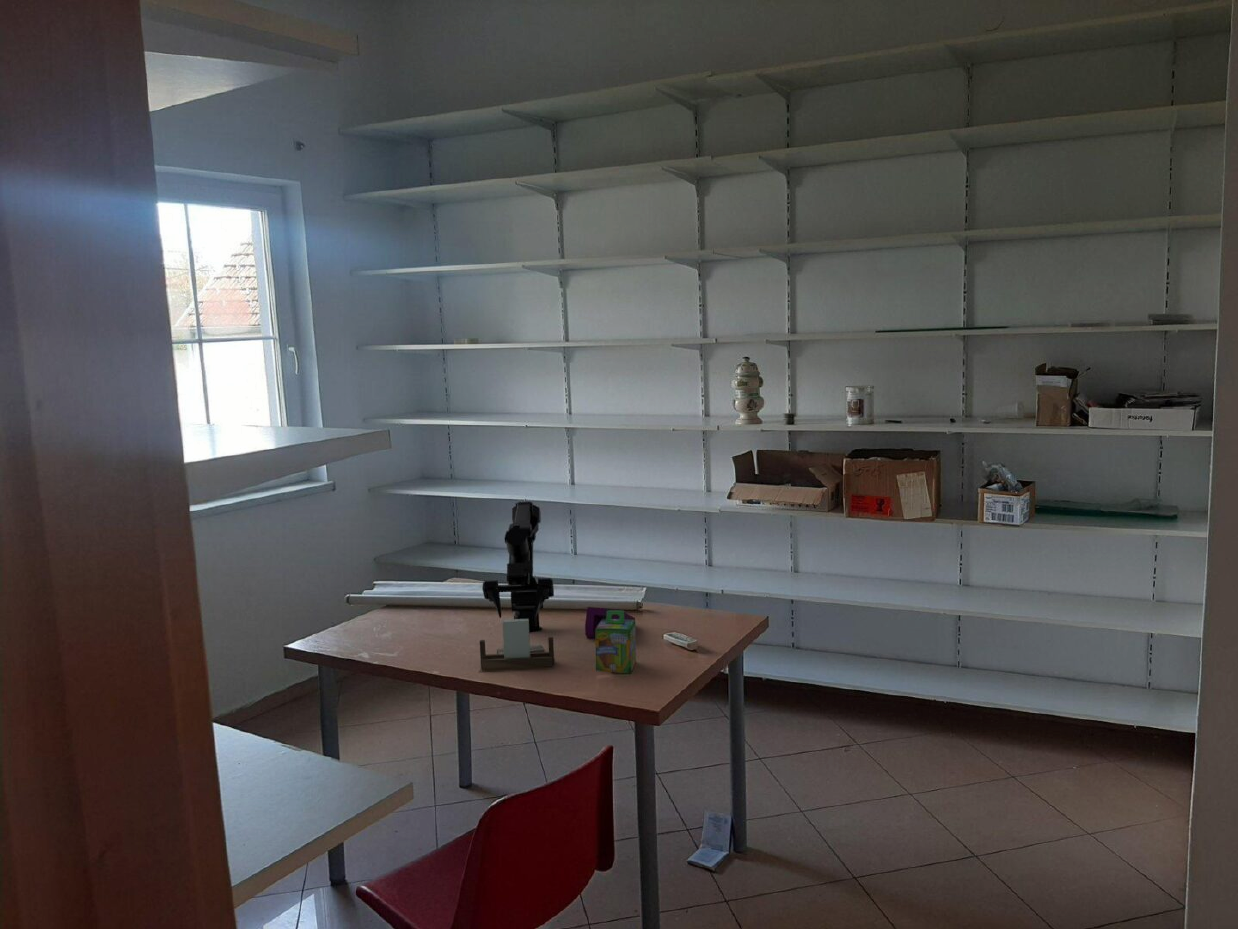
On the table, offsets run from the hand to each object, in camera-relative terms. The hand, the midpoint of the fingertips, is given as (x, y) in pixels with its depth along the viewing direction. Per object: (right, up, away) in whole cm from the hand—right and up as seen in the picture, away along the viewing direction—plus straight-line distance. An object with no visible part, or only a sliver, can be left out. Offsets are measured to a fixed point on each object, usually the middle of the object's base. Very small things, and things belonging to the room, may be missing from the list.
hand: (517, 616), depth 242 cm
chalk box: (+26, -12, -6) cm, 29 cm away
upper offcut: (0, -11, +4) cm, 11 cm away
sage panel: (+1, -12, -4) cm, 13 cm away
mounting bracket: (+25, -9, +23) cm, 35 cm away
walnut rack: (+1, -13, -4) cm, 13 cm away
